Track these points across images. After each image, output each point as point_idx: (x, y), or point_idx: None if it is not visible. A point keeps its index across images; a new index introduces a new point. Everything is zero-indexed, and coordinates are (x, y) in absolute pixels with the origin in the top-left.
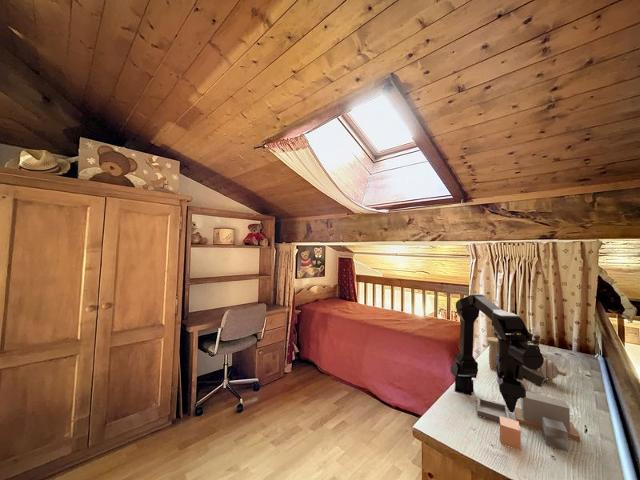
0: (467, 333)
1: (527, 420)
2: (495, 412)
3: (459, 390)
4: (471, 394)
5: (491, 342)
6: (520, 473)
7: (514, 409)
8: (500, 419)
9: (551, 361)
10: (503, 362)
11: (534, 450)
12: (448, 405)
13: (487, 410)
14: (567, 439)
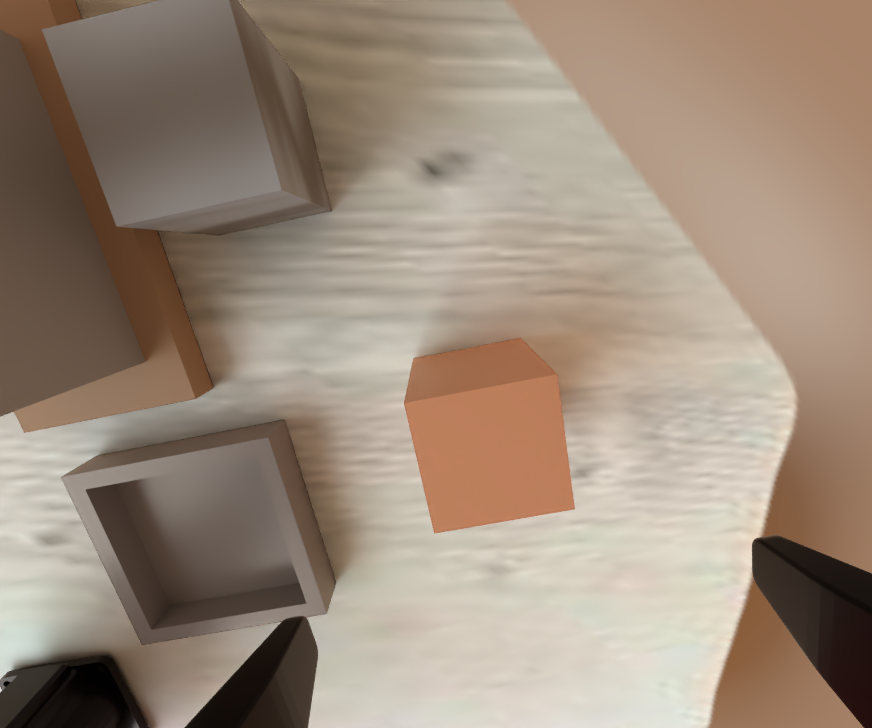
0: None
1: (147, 335)
2: (207, 513)
3: (127, 723)
4: (105, 662)
5: None
6: (740, 320)
7: (856, 567)
8: (489, 519)
9: None
10: None
11: (454, 270)
12: (357, 716)
13: (228, 554)
14: (259, 30)
